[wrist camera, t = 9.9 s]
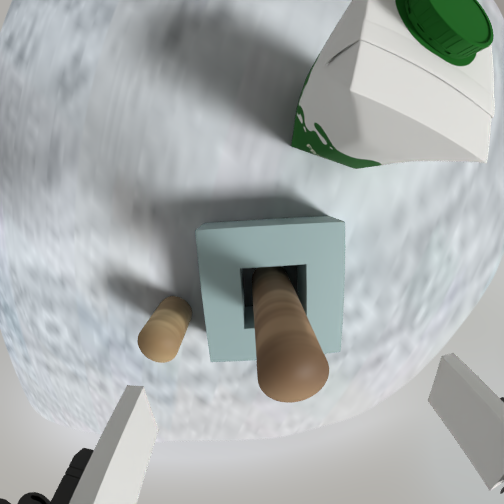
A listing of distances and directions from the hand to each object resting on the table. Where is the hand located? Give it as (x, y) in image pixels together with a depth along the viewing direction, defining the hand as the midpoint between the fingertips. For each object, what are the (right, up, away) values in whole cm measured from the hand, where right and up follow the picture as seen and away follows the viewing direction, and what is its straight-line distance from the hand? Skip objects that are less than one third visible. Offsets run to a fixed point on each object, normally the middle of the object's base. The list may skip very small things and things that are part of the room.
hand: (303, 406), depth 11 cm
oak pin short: (-10, 0, +19) cm, 22 cm away
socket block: (0, +4, +18) cm, 19 cm away
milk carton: (+6, +19, +15) cm, 25 cm away
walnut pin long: (0, +4, +18) cm, 19 cm away
